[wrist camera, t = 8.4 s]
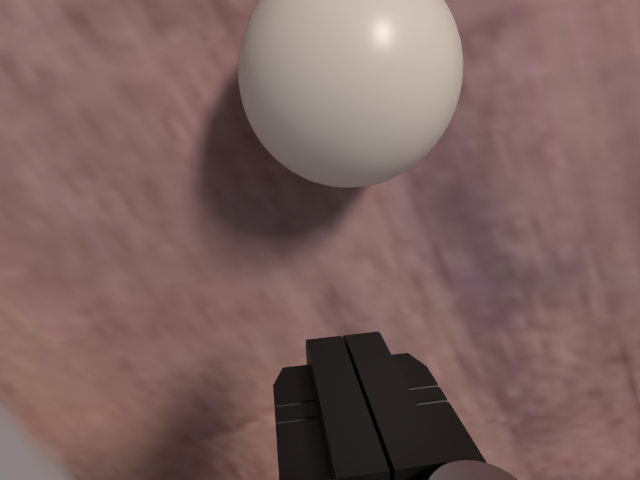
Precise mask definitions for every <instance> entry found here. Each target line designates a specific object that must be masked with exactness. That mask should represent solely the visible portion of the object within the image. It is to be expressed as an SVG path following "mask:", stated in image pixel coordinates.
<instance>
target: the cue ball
mask: <svg viewBox="0 0 640 480" xmlns="http://www.w3.org/2000/svg"><path fill="white" fill-rule="evenodd" d="M462 77H463V55H462V47H461V40H460V36H459V33H458V29H457V26H456V23H455V20H454V17H453V15H452V13H451V12H450V10H449V8H448V6H447V4H446V2H445V1H444V0H260V1H259V2H258V4H257V5H256V7H255V9H254V10H253V12H252V14H251V16H250V18H249V21H248V24H247V26H246V29H245V32H244V35H243V37H242V42H241V47H240V53H239V60H238V81H239V89H240V95H241V100H242V104H243V107H244V110H245V113H246V116H247V118H248V121H249V123H250V125H251V127H252V129H253V131H254V133H255V134H256V136H257V137H258V139H259V140H260V142H261V143H262V144H263V146H264V147H265V148H266V149H267V151H268V152H269V153H270V154H271V155H272V156H273V157H274V158H275V159H276V160H277V161H278V162H280V163H281V164H282V165H283V166H285V167H286V168H287V169H289V170H290V171H292V172H293V173H295V174H297V175H299V176H301V177H303V178H305V179H307V180H310V181H313V182H316V183H319V184H323V185H327V186H332V187H342V188H351V187H364V186H370V185H374V184H378V183H381V182H384V181H387V180H389V179H392V178H394V177H396V176H398V175H400V174H401V173H403V172H405V171H406V170H408V169H410V168H411V167H412V166H414V165H415V164H417V163H418V162H419V161H420V160H421V159H422V158H423V157H424V156H425V155H426V154H427V153H428V152H429V151H430V150H431V149H432V148H433V147H434V146H435V145H436V143H437V142H438V141H439V139H440V138H441V136H442V135H443V133H444V131H445V130H446V128H447V127H448V125H449V123H450V121H451V118H452V116H453V114H454V111H455V109H456V106H457V103H458V99H459V95H460V90H461V86H462Z"/></svg>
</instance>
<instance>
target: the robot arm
mask: <svg viewBox="0 0 640 480" xmlns="http://www.w3.org/2000/svg"><path fill="white" fill-rule="evenodd" d="M306 357H307V365H303V366H294V367H286V368H283V369H282V370H281V372H280V374H279V376H278V378H277V379H276V381H275V383H274V385H273V389H274V404H275V419H276V435H277V450H278V465H279V480H518V479H516V478H515V477H514V476H512V475H511V474H509V473H508V472H506V471H505V470H503V469H501V468H499V467H496V466H494V465H491V464H488V463H486V461H485V459H484V458H483V456H482V455H481V453H480V451H479V450H478V448H477V446H476V445H475V443H474V442H473V440H472V438H471V437H470V435H469V434H468V432H467V430H466V429H465V427H464V426H463V424H462V422H461V421H460V419H459V418H458V416H457V414H456V413H455V411H454V410H453V408H452V406H451V405H450V403H447V398H446V397H445V395H444V393H443V392H442V390H441V389H440V387H439V388H438V384H437V382H436V381H435V379H434V377H433V376H432V374H431V373H430V371H429V369H428V368H427V366H425V365H424V364H423V363H421V362H420V361H418V360H417V359H415V358H414V357H413V356H411V355H410V354H408V353H404V354H395V355H391V353H390V351H389V349H388V347H387V345H386V344H385V342H384V340H383V338H382V336H381V334H380V333H379V332H371V333H362V334H353V335H344V336H343V338H342V336H336V337H327V338H318V339H309V340H306Z"/></svg>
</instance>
